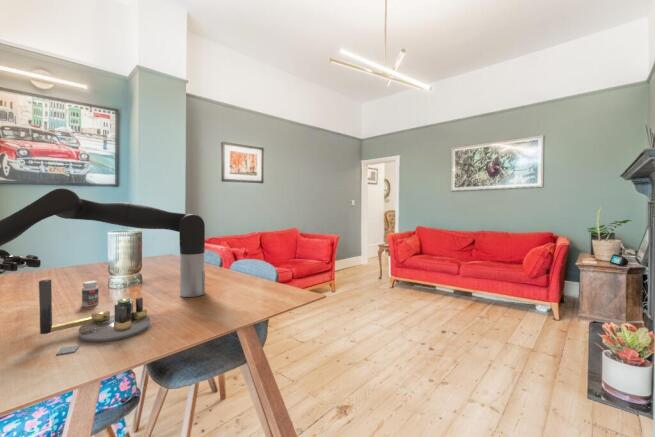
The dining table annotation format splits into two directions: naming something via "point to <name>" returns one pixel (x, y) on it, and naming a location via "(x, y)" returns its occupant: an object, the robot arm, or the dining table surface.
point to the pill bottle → (90, 294)
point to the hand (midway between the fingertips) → (27, 265)
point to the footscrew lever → (46, 312)
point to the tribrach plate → (108, 328)
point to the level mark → (67, 350)
